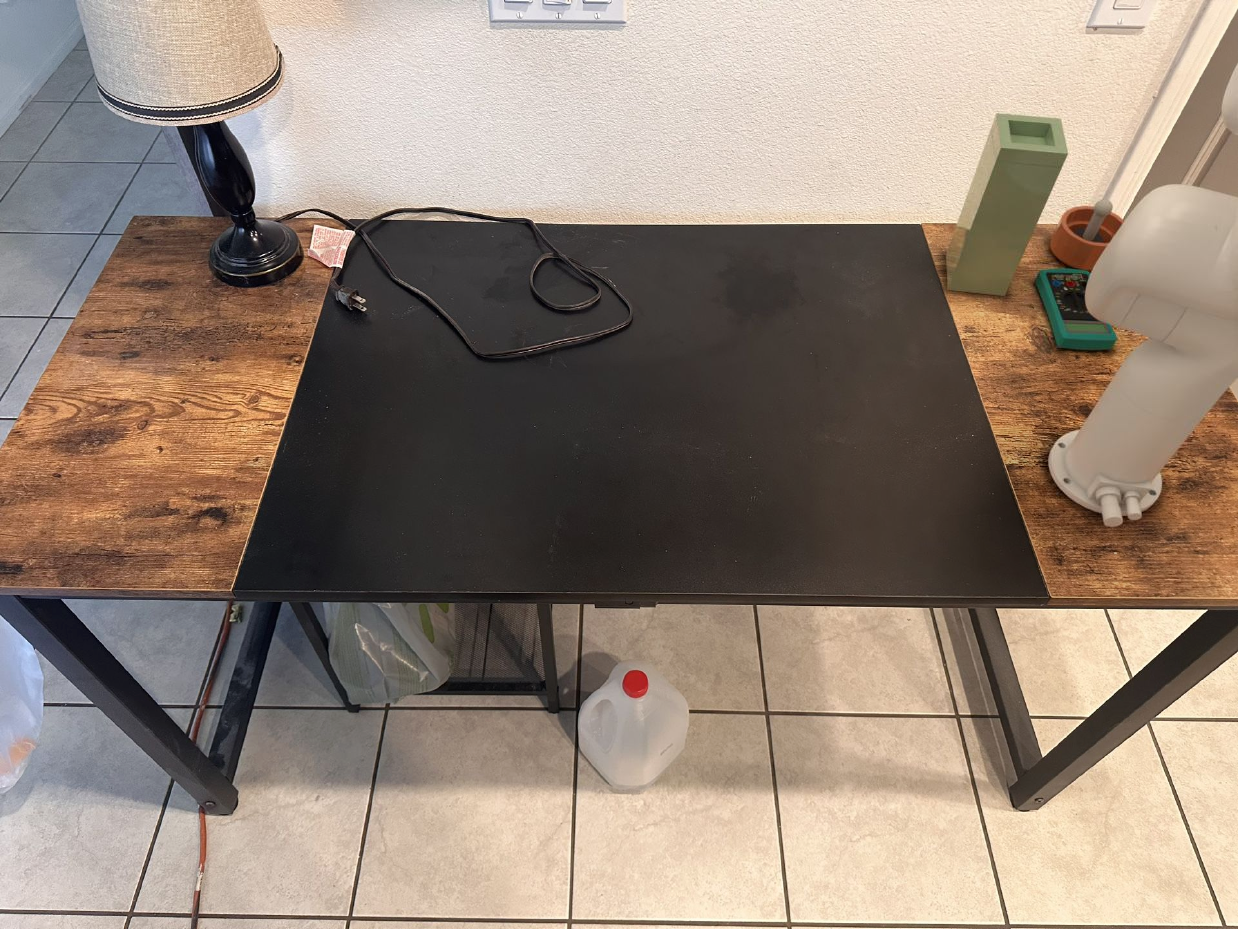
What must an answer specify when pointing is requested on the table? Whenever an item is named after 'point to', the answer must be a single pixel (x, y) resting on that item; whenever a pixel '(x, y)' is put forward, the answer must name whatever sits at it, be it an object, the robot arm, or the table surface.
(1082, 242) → the basin bowl
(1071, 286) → the digital multimeter
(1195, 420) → the robot arm
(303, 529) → the table surface
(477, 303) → the table surface
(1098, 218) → the stopper
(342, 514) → the table surface
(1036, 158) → the green tall hollow block
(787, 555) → the table surface
